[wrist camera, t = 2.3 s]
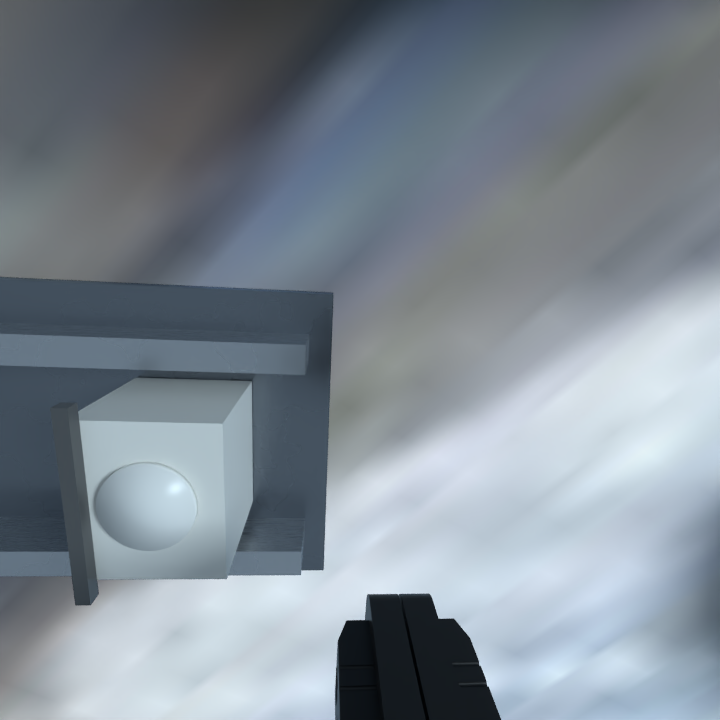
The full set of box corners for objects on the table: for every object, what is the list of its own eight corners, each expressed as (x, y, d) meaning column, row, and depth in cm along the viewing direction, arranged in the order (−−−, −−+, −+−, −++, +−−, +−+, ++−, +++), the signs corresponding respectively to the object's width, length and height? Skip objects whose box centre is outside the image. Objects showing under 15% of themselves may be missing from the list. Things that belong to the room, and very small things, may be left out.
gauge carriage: (251, 368, 18) (217, 411, 13) (253, 512, 20) (223, 603, 14) (134, 364, 18) (50, 407, 12) (146, 511, 19) (75, 605, 14)
